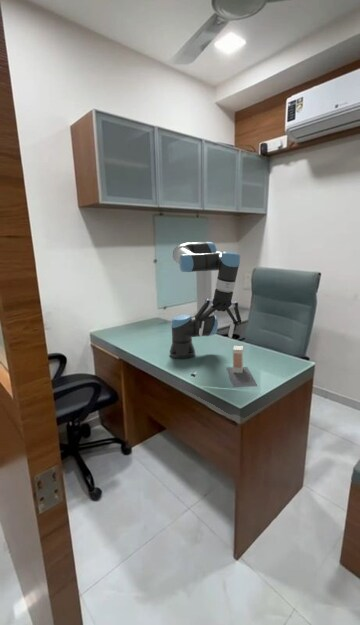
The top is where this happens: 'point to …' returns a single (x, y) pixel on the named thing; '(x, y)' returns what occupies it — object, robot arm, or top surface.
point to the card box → (238, 359)
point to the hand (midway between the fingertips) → (215, 335)
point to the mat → (241, 378)
